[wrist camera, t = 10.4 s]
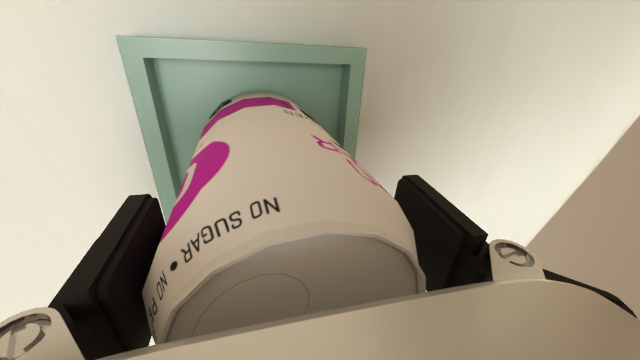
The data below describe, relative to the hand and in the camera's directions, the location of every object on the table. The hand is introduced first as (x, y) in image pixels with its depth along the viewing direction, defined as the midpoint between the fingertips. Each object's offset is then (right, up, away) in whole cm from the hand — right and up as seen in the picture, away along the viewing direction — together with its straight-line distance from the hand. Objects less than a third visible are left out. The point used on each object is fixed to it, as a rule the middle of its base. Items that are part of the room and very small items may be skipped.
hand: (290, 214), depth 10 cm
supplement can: (-3, +4, +9) cm, 11 cm away
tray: (-3, +4, +10) cm, 11 cm away
